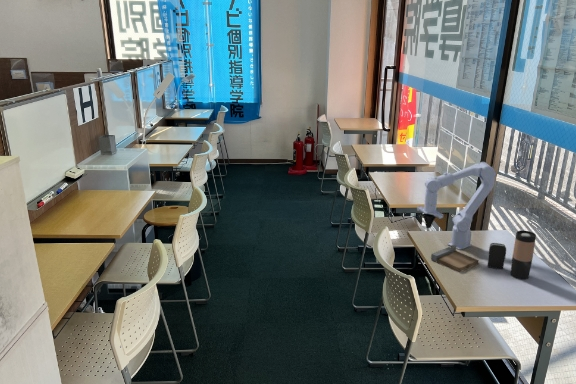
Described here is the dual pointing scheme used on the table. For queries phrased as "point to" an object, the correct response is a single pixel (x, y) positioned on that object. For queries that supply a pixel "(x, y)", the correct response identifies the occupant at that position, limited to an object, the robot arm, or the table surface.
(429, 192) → the robot arm
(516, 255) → the travel mug
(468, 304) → the table surface
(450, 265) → the stool seat
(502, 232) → the table surface
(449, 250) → the gray rectangular bar
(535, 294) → the table surface
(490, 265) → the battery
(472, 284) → the table surface
